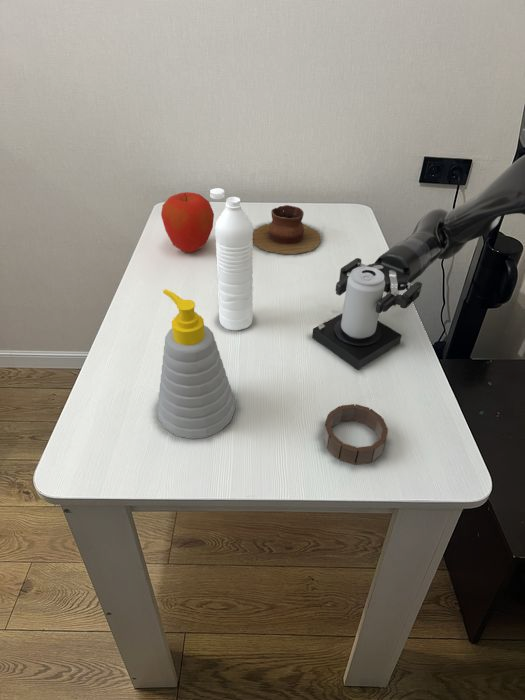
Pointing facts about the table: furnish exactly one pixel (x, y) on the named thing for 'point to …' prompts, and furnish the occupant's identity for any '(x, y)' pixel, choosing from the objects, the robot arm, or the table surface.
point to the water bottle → (234, 263)
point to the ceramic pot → (286, 232)
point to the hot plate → (355, 342)
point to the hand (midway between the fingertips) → (357, 299)
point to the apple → (187, 220)
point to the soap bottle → (193, 377)
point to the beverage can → (362, 302)
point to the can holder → (347, 451)
